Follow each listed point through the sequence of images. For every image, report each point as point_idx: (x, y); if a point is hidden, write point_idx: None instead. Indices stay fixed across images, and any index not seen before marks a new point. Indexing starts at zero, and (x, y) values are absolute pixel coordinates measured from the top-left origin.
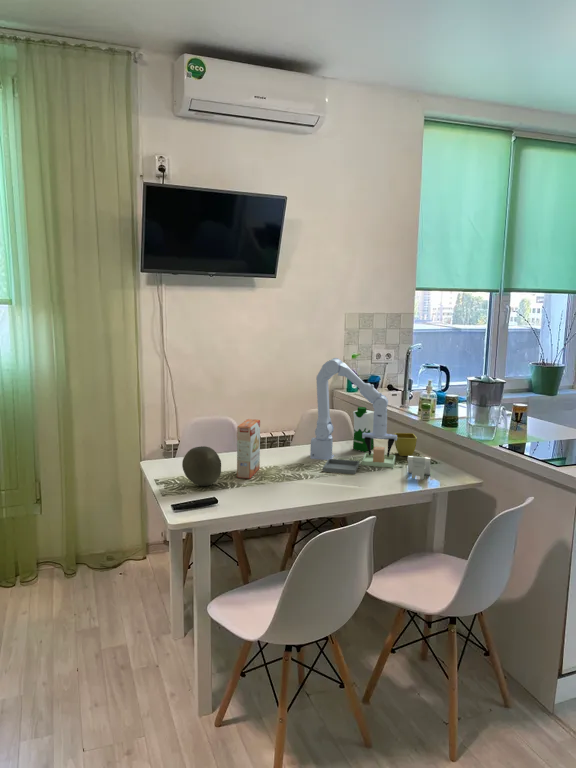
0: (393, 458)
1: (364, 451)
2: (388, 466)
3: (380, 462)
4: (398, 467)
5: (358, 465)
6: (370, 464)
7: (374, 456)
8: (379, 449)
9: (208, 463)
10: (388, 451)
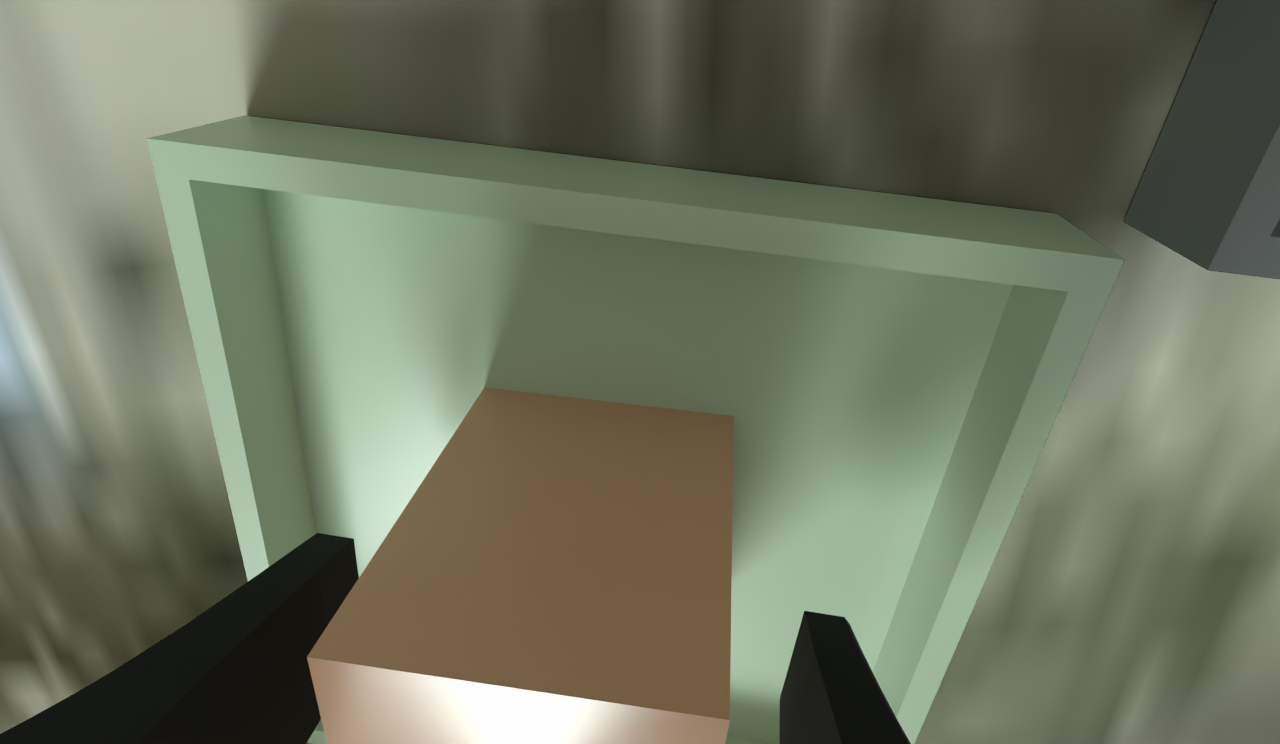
0: (266, 563)
1: None
2: (327, 136)
3: (521, 212)
4: (165, 254)
5: (1252, 37)
6: (821, 200)
7: (695, 518)
8: (491, 706)
9: None
10: (215, 635)
